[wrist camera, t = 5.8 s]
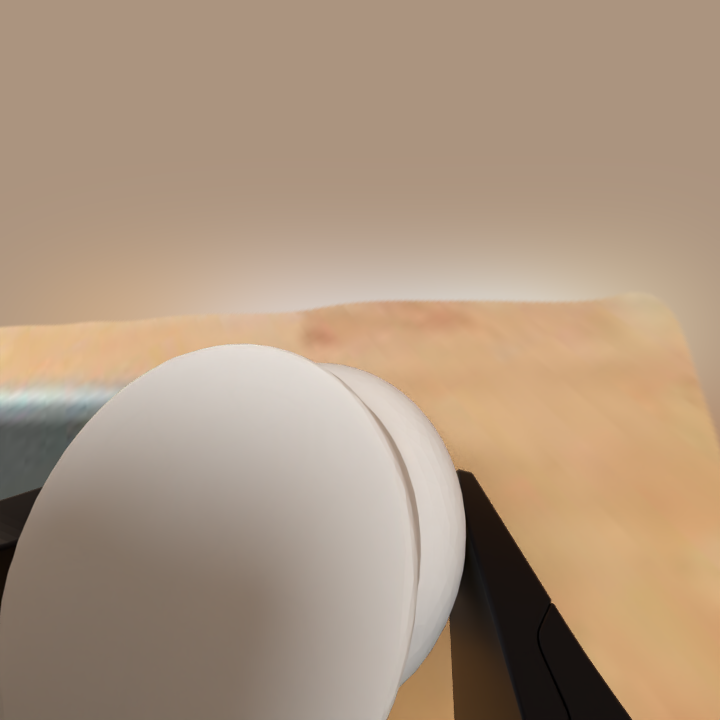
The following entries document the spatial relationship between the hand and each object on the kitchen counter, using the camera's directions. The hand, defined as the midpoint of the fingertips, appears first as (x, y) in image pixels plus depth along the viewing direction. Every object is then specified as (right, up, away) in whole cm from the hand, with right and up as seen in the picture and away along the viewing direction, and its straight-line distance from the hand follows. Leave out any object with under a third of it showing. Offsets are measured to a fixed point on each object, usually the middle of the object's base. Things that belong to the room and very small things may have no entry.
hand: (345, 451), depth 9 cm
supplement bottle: (+1, -4, +6) cm, 7 cm away
